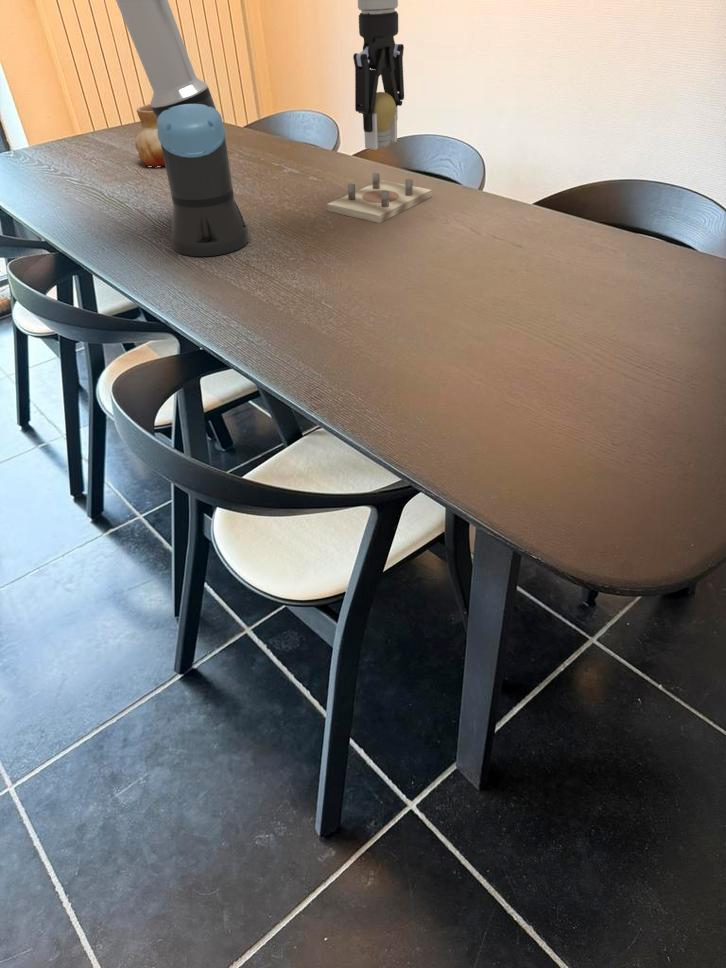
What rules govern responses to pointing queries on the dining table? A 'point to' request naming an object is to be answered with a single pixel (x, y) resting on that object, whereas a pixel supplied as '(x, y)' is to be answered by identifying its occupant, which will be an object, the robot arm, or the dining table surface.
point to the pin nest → (379, 199)
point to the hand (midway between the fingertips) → (381, 144)
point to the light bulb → (384, 117)
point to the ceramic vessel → (149, 138)
